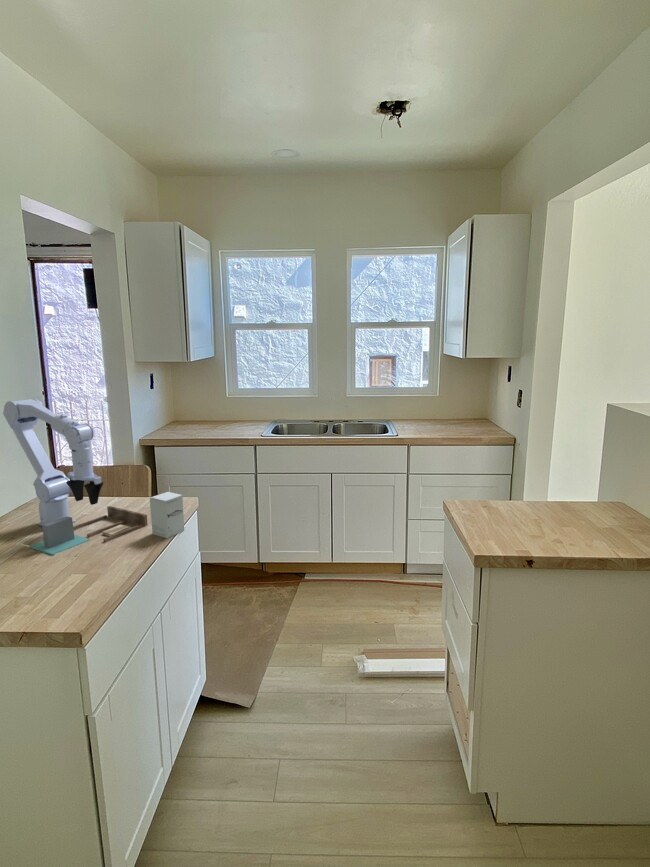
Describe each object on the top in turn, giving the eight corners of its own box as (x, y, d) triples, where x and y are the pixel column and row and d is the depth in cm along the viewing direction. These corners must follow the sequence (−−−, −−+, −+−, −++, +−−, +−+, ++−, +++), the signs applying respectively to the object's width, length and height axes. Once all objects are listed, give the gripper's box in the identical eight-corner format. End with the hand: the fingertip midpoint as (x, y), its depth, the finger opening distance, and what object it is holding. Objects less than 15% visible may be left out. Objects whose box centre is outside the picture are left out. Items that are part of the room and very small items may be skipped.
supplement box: (167, 539, 150) (164, 500, 148) (151, 534, 154) (148, 497, 152) (185, 531, 157) (183, 494, 154) (170, 527, 160) (167, 490, 158)
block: (44, 546, 145) (41, 524, 143) (69, 537, 151) (67, 516, 150) (49, 548, 143) (46, 526, 142) (74, 538, 150) (72, 517, 149)
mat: (29, 547, 145) (29, 545, 145) (67, 533, 156) (66, 532, 156) (53, 555, 140) (52, 553, 140) (90, 540, 150) (90, 539, 150)
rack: (68, 532, 157) (66, 520, 156) (110, 516, 171) (109, 505, 170) (105, 543, 148) (104, 531, 147) (147, 526, 162) (146, 514, 161)
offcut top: (102, 534, 154) (102, 531, 154) (120, 527, 160) (120, 524, 160) (112, 537, 152) (111, 534, 152) (129, 529, 158) (129, 526, 158)
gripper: (56, 462, 155) (61, 502, 158) (85, 467, 148) (89, 509, 151) (77, 457, 161) (81, 496, 164) (105, 462, 154) (109, 502, 157)
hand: (86, 502), depth 158 cm, fingers open, 7 cm apart
